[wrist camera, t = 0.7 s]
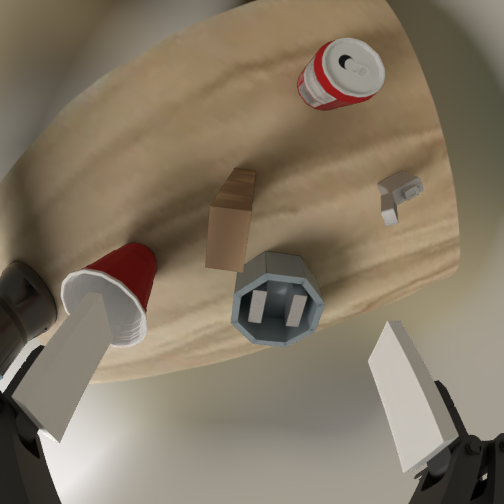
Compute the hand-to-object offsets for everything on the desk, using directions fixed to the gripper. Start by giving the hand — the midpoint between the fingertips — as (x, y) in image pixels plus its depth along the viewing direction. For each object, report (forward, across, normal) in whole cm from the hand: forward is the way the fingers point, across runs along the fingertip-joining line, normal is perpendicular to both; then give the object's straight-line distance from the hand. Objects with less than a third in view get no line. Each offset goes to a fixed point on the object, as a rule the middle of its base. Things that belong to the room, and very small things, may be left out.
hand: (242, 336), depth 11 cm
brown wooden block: (+22, -1, +2) cm, 22 cm away
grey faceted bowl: (+22, +4, -12) cm, 25 cm away
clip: (+22, +4, -12) cm, 25 cm away
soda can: (+22, +6, +14) cm, 27 cm away
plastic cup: (+22, -15, -10) cm, 29 cm away
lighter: (+22, +16, +4) cm, 28 cm away
